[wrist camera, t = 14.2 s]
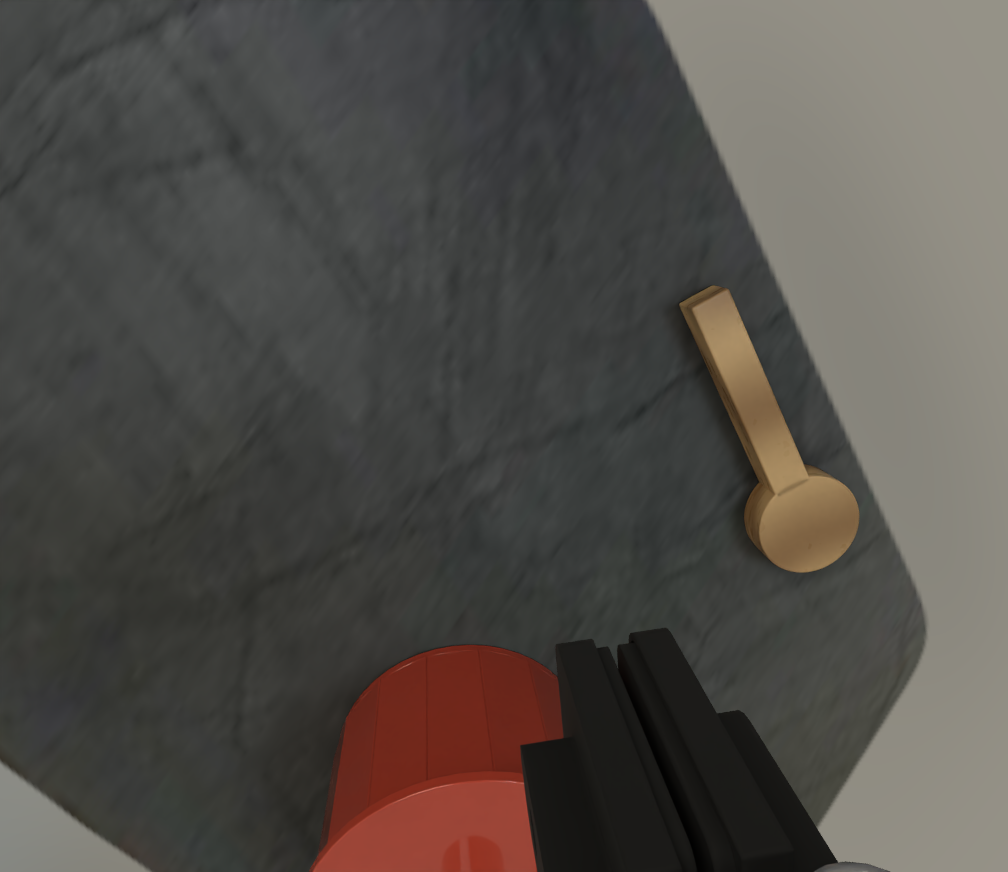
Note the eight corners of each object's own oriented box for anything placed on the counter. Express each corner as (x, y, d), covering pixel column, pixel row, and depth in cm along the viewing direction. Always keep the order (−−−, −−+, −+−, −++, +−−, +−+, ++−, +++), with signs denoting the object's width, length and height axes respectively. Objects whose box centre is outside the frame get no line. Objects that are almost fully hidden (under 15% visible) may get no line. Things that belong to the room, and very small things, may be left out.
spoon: (646, 320, 30) (658, 326, 28) (744, 266, 30) (762, 269, 28) (765, 573, 34) (781, 590, 32) (853, 527, 34) (873, 542, 32)
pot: (319, 661, 33) (285, 808, 25) (581, 629, 34) (630, 760, 26) (355, 870, 36) (335, 1059, 28) (592, 835, 37) (639, 1009, 29)
